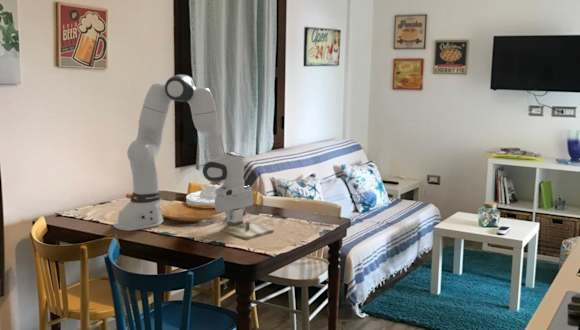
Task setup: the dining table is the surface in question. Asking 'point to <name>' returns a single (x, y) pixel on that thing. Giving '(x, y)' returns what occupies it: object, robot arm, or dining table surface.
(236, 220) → the sleeve
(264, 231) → the pin board
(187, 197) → the cake
